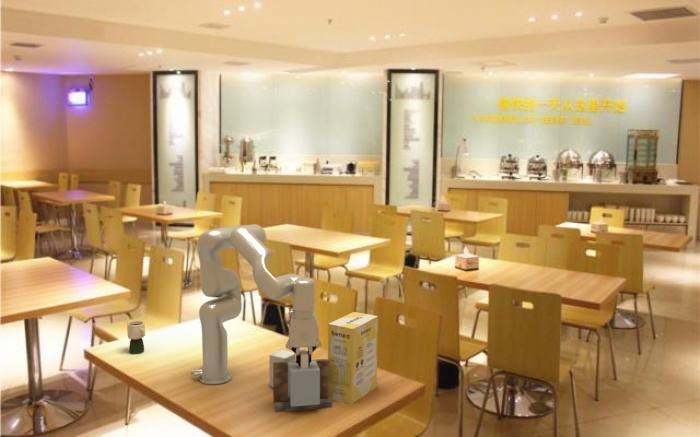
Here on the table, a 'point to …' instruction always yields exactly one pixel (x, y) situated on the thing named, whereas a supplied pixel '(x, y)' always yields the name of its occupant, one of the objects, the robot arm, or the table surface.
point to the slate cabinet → (303, 382)
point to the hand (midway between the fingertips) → (303, 364)
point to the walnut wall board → (282, 387)
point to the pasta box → (352, 356)
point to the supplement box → (279, 357)
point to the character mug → (136, 336)
